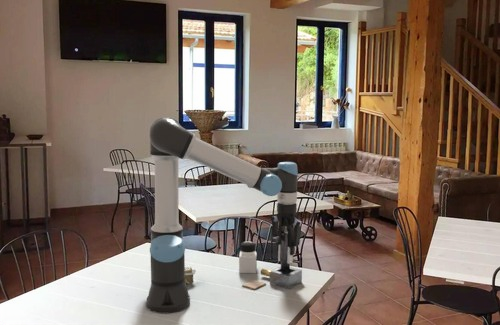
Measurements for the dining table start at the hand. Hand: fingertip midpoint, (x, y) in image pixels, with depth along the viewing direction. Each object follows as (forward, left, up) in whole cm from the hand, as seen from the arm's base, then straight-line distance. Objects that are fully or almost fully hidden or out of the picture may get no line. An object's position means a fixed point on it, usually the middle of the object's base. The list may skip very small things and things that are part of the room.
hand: (285, 261), depth 197 cm
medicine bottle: (+2, +20, -9) cm, 22 cm away
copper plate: (-10, +8, -9) cm, 15 cm away
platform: (-25, +30, -9) cm, 41 cm away
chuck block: (0, +3, -9) cm, 9 cm away
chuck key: (-3, 0, -5) cm, 6 cm away
